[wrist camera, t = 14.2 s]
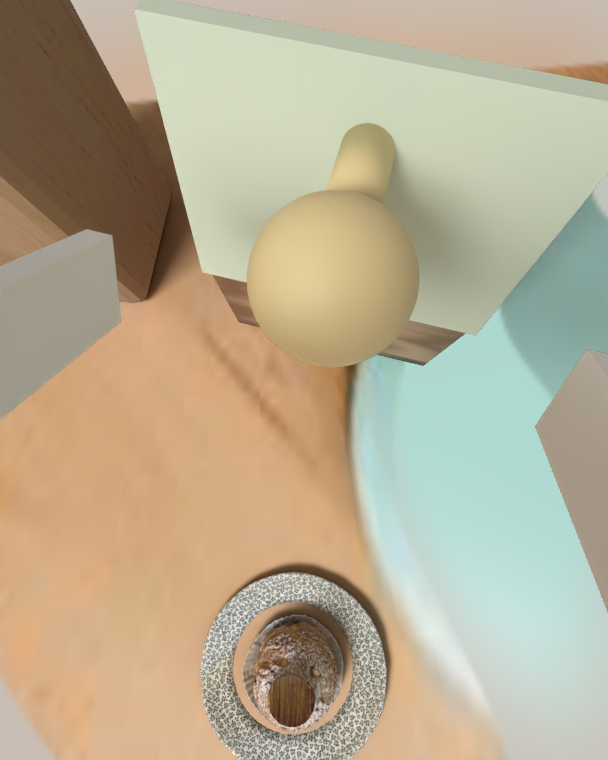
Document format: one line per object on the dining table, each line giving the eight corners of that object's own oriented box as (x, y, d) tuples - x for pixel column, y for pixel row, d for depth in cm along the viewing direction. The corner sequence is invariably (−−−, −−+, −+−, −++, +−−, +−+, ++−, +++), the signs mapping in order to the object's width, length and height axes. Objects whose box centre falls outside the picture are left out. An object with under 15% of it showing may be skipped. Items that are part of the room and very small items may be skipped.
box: (451, 227, 32) (505, 143, 23) (423, 365, 30) (469, 330, 22) (276, 189, 33) (264, 94, 24) (239, 322, 31) (210, 270, 22)
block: (57, 173, 34) (-301, -219, 14) (178, 190, 33) (-17, -189, 14) (23, 289, 32) (-437, 30, 12) (149, 309, 32) (-120, 75, 12)
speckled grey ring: (421, 680, 27) (443, 725, 23) (278, 810, 26) (270, 885, 22) (307, 531, 29) (307, 546, 25) (168, 647, 28) (140, 685, 24)
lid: (654, 93, 11) (711, 375, 8) (476, 322, 21) (464, 490, 18) (145, -6, 12) (-29, 205, 8) (207, 260, 22) (141, 408, 18)
